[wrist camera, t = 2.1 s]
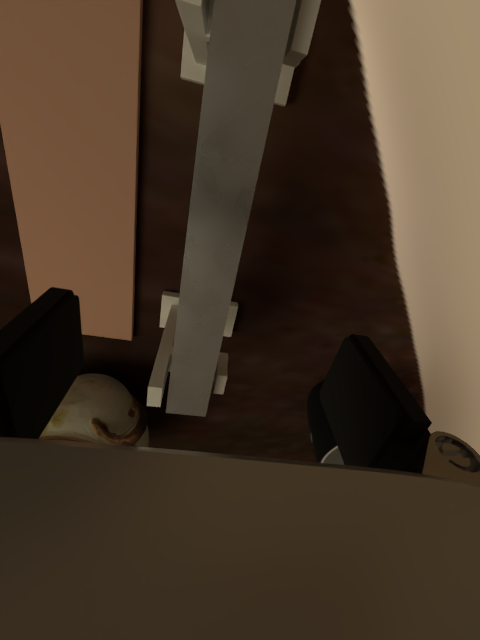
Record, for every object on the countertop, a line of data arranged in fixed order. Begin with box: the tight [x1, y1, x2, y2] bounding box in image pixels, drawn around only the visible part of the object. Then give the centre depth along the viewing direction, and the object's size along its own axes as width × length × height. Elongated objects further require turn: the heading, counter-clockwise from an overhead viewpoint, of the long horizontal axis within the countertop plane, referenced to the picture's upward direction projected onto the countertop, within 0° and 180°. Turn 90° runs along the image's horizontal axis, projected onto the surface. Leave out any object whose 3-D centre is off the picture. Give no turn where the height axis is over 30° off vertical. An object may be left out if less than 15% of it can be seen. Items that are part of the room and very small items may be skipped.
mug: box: [307, 382, 344, 465], centre depth 38 cm, size 12×9×10 cm
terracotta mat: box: [0, 0, 143, 340], centre depth 25 cm, size 31×10×1 cm, turn 168°
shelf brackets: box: [147, 0, 321, 407], centre depth 22 cm, size 26×8×13 cm, turn 168°
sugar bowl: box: [39, 373, 149, 447], centre depth 33 cm, size 20×15×15 cm
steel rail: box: [166, 0, 296, 417], centre depth 19 cm, size 27×3×3 cm, turn 168°
